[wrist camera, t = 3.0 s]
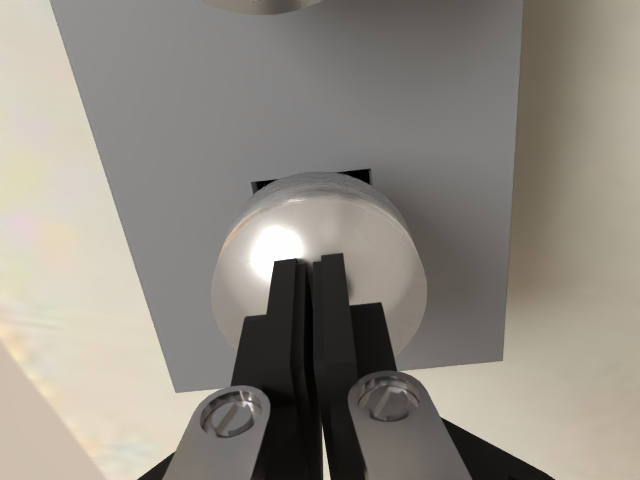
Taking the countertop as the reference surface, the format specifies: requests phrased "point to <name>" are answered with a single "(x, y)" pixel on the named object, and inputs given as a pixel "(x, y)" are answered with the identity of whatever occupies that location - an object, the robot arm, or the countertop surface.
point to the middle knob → (260, 6)
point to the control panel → (305, 145)
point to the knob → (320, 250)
